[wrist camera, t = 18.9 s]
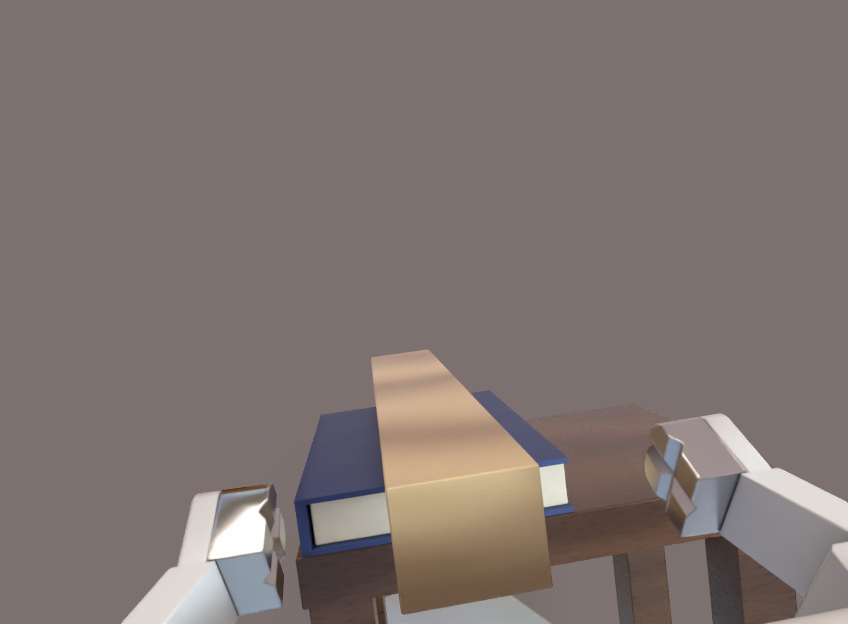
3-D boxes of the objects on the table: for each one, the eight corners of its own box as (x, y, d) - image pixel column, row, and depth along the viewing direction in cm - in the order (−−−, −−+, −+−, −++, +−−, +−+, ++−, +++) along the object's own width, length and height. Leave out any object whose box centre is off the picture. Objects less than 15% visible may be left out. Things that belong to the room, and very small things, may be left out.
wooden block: (553, 588, 14) (539, 464, 14) (401, 615, 13) (384, 488, 13) (434, 396, 37) (428, 349, 36) (377, 405, 36) (370, 357, 36)
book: (574, 512, 23) (568, 457, 23) (301, 558, 22) (293, 500, 22) (493, 424, 37) (489, 390, 36) (325, 450, 36) (320, 414, 35)
